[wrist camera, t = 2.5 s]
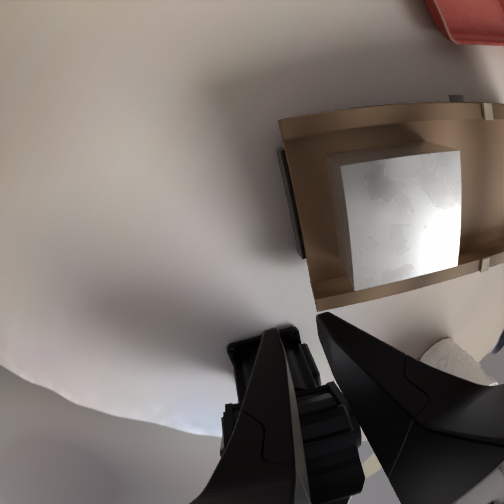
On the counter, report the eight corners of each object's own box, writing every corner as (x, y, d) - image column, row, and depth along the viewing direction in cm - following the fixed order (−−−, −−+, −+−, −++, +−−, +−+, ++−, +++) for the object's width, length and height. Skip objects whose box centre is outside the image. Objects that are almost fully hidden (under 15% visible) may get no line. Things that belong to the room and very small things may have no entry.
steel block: (339, 258, 19) (354, 291, 16) (324, 154, 17) (340, 166, 13) (429, 238, 19) (457, 265, 15) (425, 140, 16) (459, 150, 12)
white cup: (450, 323, 30) (497, 374, 21) (460, 349, 33) (498, 393, 24) (404, 366, 31) (443, 423, 22) (420, 385, 34) (453, 434, 25)
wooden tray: (310, 284, 23) (318, 319, 19) (275, 112, 17) (278, 111, 14) (542, 226, 19) (567, 243, 15) (544, 103, 14) (574, 109, 10)
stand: (300, 263, 23) (314, 286, 20) (273, 135, 19) (285, 136, 16) (509, 197, 24) (530, 206, 21) (506, 111, 20) (530, 115, 16)
